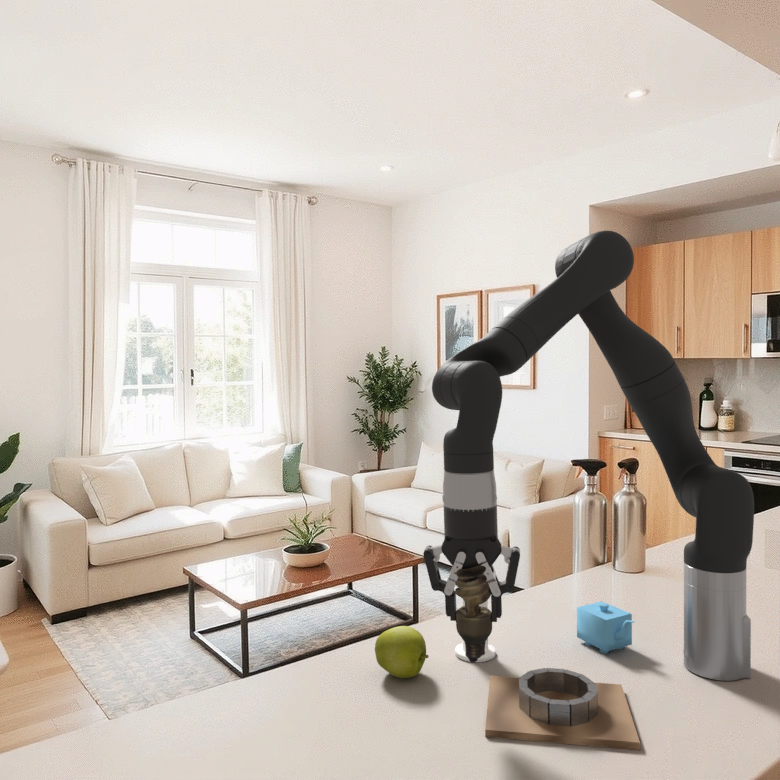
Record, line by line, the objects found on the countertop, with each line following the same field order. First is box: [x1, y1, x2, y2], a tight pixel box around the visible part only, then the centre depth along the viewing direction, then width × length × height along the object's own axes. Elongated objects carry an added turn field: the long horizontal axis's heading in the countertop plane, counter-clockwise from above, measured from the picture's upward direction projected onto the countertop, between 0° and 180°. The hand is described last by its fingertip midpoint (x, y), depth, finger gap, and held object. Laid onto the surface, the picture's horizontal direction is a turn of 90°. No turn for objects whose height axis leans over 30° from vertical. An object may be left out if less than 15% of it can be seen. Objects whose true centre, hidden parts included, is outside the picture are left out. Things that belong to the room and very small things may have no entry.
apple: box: [374, 625, 430, 679], centre depth 110 cm, size 8×9×8 cm
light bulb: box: [454, 565, 493, 663], centre depth 96 cm, size 6×6×15 cm
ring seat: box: [519, 667, 598, 727], centre depth 97 cm, size 11×11×3 cm
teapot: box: [576, 600, 636, 654], centre depth 119 cm, size 12×6×8 cm, turn 28°
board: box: [484, 675, 641, 751], centre depth 98 cm, size 20×16×1 cm
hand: (473, 618), depth 96 cm, fingers closed on light bulb, 5 cm apart
